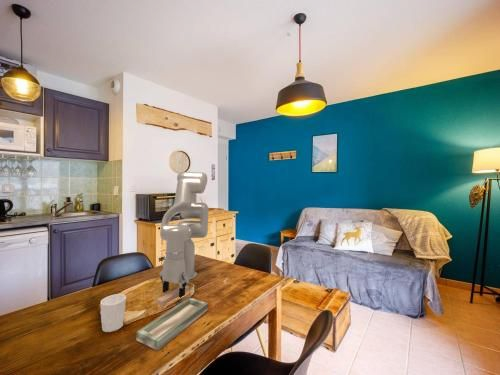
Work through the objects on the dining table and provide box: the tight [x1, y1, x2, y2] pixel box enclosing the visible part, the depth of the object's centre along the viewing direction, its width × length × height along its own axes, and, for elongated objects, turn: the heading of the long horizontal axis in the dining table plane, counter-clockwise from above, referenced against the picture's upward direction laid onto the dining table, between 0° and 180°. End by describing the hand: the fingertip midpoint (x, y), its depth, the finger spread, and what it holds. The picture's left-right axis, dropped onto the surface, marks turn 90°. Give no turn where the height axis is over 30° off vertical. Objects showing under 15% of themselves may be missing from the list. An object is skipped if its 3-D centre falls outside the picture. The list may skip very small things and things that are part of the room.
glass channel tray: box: [135, 297, 209, 352], centre depth 84 cm, size 10×26×3 cm, turn 154°
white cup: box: [100, 293, 127, 333], centre depth 81 cm, size 8×8×10 cm
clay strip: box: [156, 285, 190, 311], centre depth 100 cm, size 4×16×4 cm, turn 154°
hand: (173, 293), depth 100 cm, fingers open, 9 cm apart
